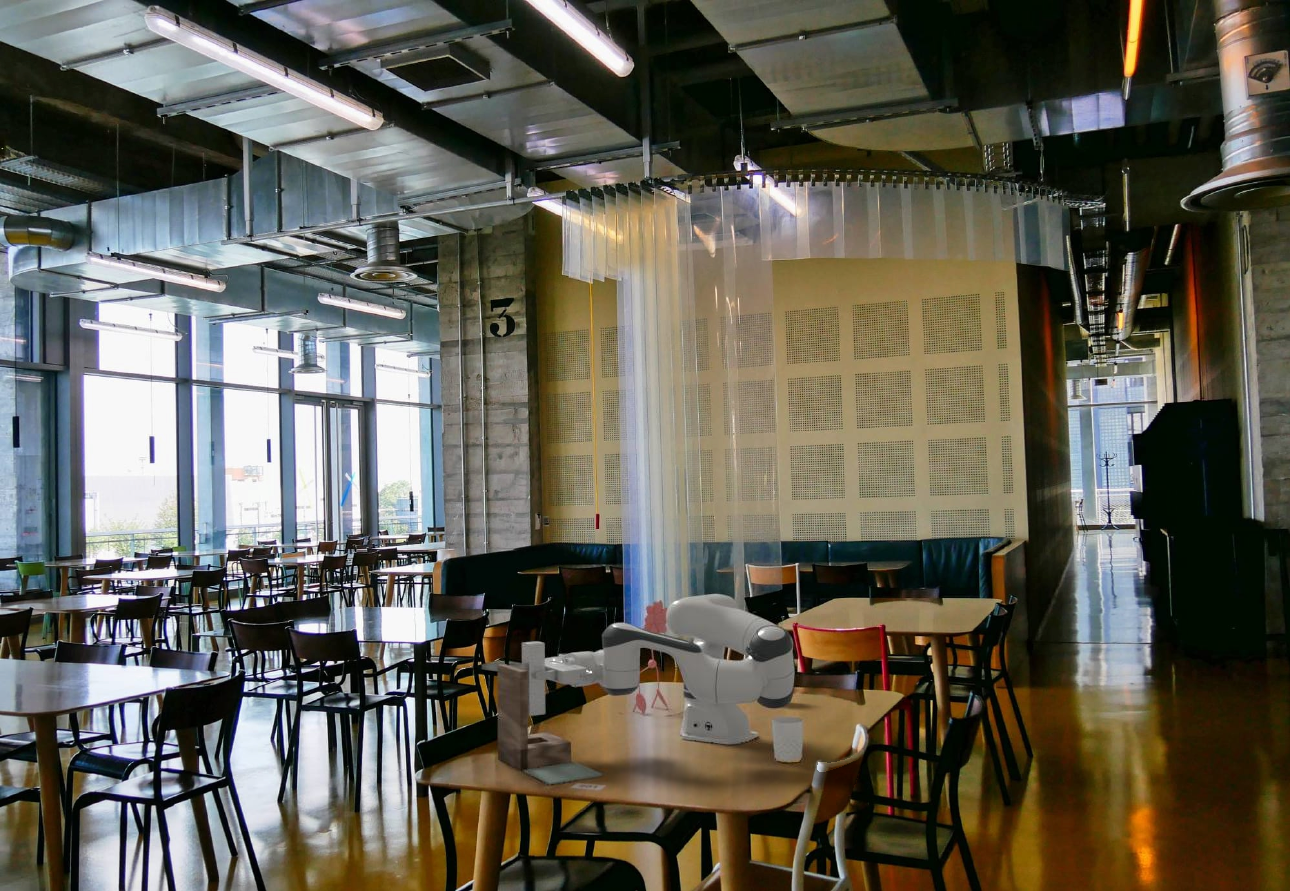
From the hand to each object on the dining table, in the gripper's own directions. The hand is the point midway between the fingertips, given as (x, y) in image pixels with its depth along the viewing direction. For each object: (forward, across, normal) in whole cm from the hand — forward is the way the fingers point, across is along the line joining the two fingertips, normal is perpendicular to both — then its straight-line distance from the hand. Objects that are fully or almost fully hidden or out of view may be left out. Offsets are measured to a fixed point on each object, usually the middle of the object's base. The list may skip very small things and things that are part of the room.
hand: (530, 674), depth 253 cm
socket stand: (-1, 0, -22) cm, 22 cm away
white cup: (-54, -37, -22) cm, 69 cm away
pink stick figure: (-60, +34, -22) cm, 72 cm away
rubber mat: (-1, -16, -22) cm, 27 cm away
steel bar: (-1, 0, -10) cm, 10 cm away
